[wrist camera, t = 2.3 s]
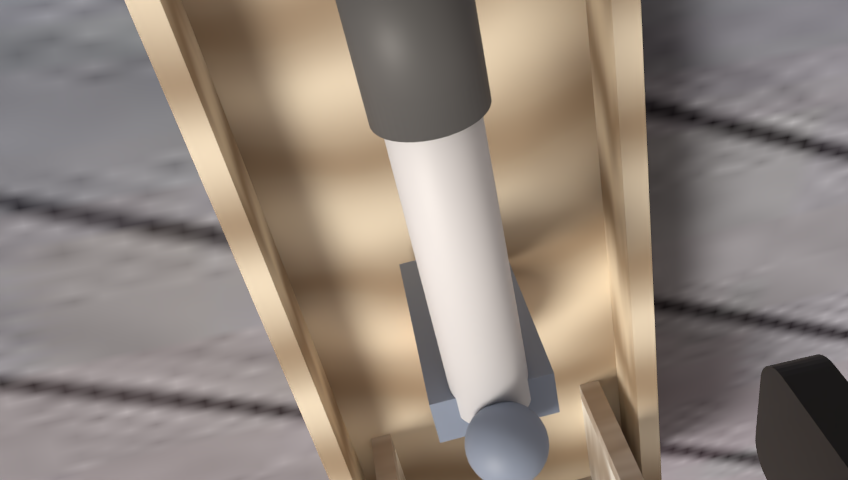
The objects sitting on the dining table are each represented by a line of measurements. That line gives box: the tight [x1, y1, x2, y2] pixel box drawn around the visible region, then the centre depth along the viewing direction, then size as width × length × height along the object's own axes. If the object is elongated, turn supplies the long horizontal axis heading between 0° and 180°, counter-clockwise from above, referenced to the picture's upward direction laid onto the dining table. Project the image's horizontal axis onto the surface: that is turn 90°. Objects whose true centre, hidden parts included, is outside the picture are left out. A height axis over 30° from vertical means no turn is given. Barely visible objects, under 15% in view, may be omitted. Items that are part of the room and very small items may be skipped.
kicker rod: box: [335, 0, 560, 480], centre depth 26 cm, size 18×4×11 cm, turn 12°
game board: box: [125, 0, 661, 480], centre depth 33 cm, size 36×16×10 cm, turn 12°
